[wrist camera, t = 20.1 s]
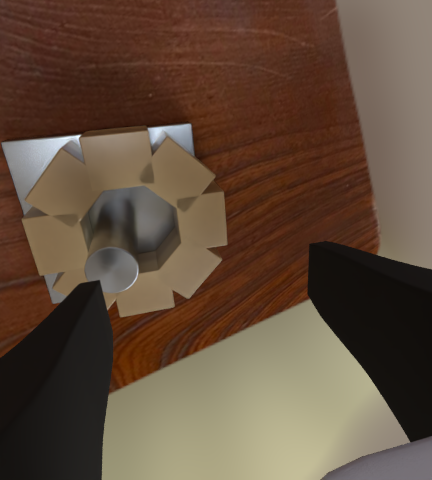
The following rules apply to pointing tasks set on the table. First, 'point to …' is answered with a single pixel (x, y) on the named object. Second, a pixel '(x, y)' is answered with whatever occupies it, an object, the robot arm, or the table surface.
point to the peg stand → (103, 209)
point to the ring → (116, 177)
